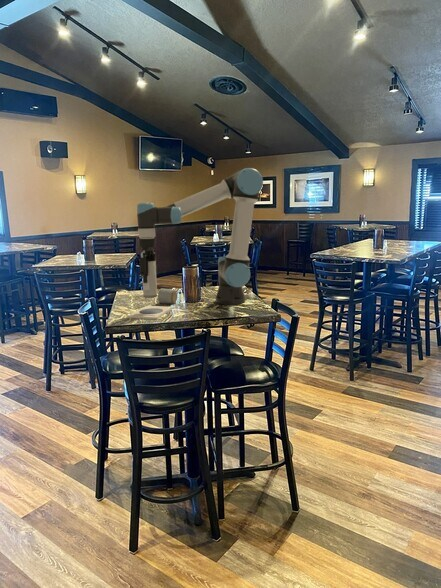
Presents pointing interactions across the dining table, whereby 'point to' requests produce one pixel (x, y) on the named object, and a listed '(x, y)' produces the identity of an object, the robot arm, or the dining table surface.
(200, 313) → the dining table surface
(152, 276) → the travel mug
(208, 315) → the dining table surface
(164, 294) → the ceramic mug
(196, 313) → the dining table surface
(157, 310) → the beige plate with hole
